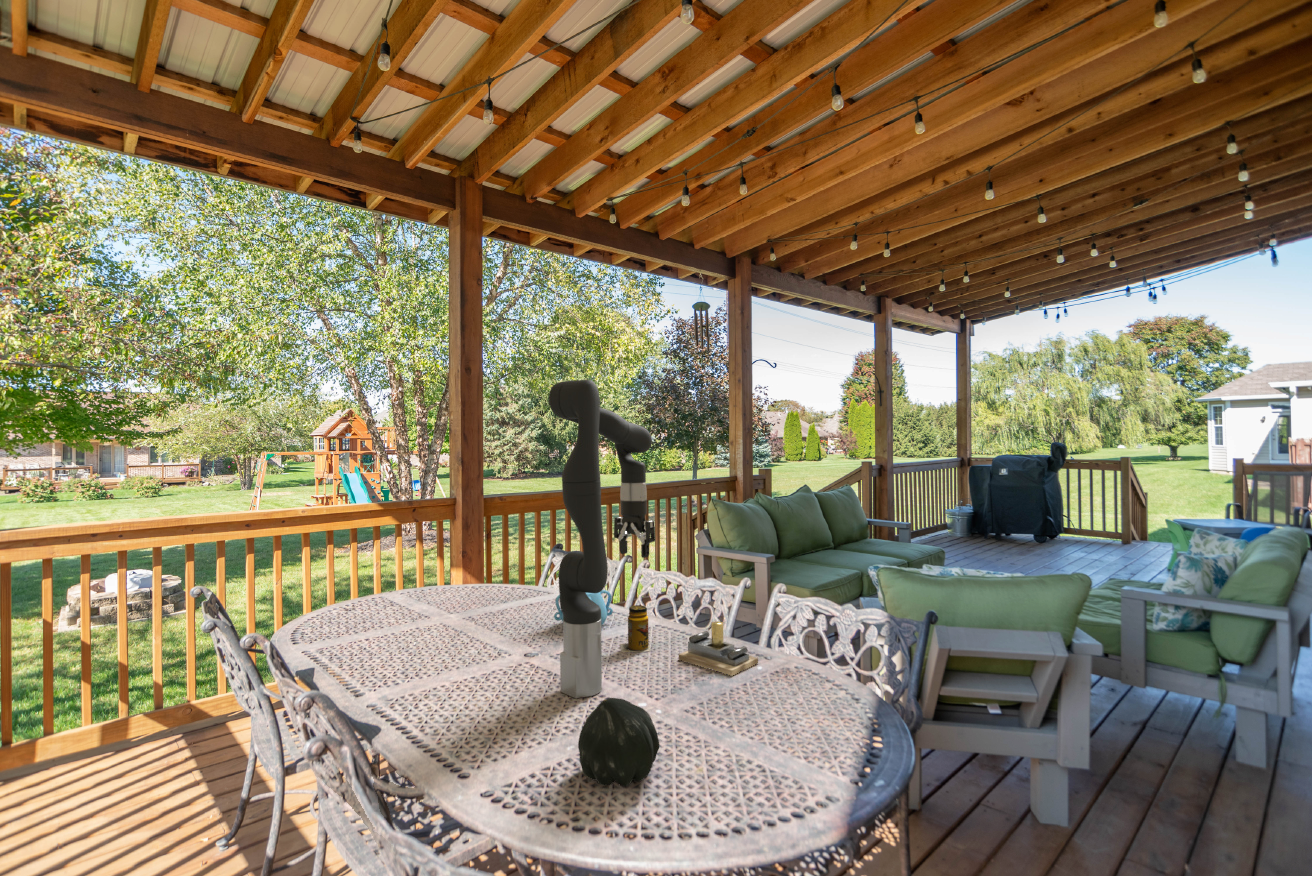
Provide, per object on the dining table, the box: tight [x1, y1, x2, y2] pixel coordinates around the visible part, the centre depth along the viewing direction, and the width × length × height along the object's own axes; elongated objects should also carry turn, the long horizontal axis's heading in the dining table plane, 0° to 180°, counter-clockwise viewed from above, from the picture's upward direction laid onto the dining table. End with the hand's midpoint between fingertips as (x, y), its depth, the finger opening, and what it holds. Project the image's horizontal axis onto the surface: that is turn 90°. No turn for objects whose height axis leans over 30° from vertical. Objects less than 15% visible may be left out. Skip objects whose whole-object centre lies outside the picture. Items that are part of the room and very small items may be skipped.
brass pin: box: [710, 620, 724, 649], centre depth 166 cm, size 3×3×9 cm
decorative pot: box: [553, 589, 614, 627], centre depth 200 cm, size 20×20×14 cm
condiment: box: [619, 604, 652, 654], centre depth 178 cm, size 7×8×12 cm
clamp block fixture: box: [678, 630, 759, 677], centre depth 166 cm, size 12×18×6 cm, turn 47°
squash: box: [577, 697, 660, 787], centre depth 110 cm, size 14×15×15 cm
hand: (634, 555), depth 173 cm, fingers open, 8 cm apart
